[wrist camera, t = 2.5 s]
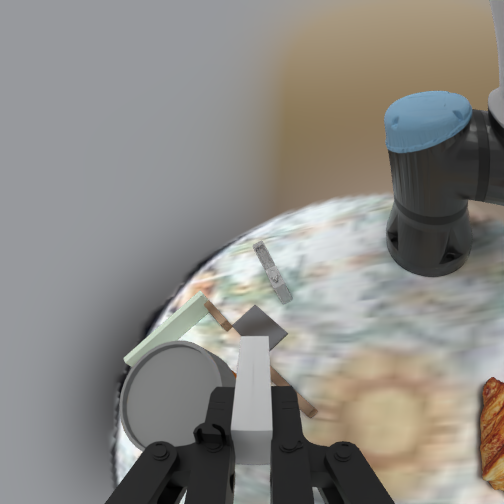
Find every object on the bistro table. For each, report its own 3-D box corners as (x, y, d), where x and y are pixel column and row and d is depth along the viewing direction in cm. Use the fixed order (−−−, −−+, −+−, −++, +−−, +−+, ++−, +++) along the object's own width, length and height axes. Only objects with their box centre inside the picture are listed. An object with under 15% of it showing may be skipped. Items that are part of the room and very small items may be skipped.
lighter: (293, 299, 42) (276, 266, 37) (283, 304, 43) (264, 272, 37) (277, 270, 48) (260, 237, 43) (268, 274, 48) (250, 242, 43)
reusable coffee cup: (201, 385, 38) (133, 340, 28) (283, 381, 34) (232, 332, 24) (191, 463, 29) (108, 445, 19) (279, 471, 25) (217, 472, 15)
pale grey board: (214, 306, 48) (203, 293, 45) (140, 372, 44) (125, 362, 41) (211, 303, 49) (200, 290, 46) (138, 367, 44) (123, 358, 42)
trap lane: (346, 382, 30) (344, 377, 29) (183, 508, 24) (174, 509, 22) (232, 284, 50) (227, 277, 48) (121, 382, 43) (112, 377, 42)
